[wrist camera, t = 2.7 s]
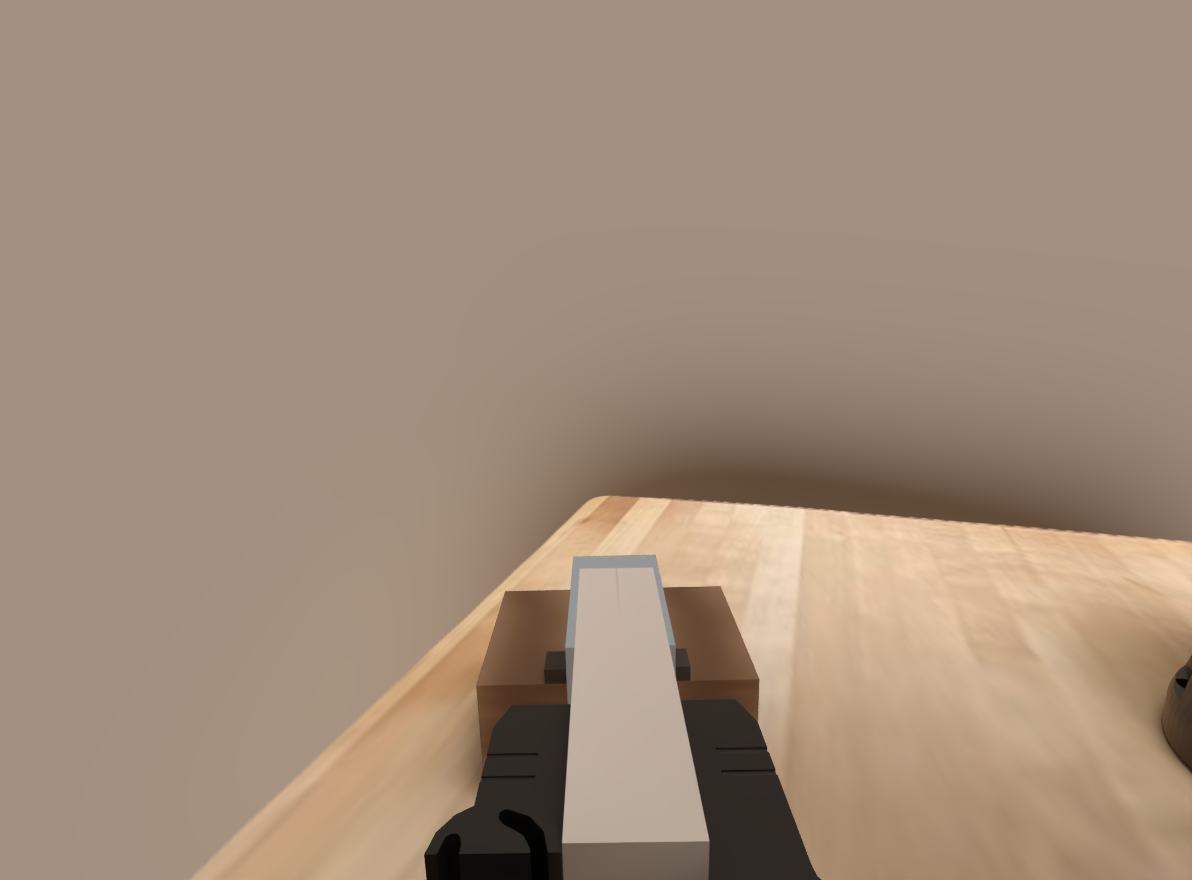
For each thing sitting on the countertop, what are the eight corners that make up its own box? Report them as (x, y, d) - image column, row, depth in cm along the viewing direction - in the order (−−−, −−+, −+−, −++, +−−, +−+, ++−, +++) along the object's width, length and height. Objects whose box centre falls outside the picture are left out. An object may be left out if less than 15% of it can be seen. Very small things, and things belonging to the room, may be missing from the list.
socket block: (718, 681, 42) (720, 574, 40) (754, 798, 32) (759, 664, 31) (511, 686, 42) (504, 580, 40) (485, 804, 33) (475, 671, 31)
